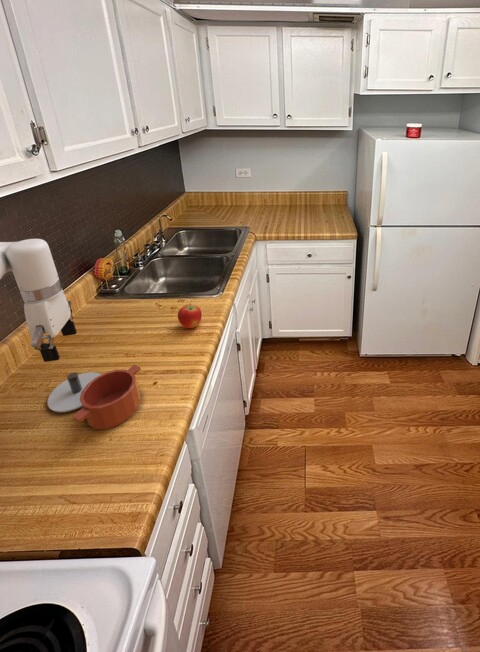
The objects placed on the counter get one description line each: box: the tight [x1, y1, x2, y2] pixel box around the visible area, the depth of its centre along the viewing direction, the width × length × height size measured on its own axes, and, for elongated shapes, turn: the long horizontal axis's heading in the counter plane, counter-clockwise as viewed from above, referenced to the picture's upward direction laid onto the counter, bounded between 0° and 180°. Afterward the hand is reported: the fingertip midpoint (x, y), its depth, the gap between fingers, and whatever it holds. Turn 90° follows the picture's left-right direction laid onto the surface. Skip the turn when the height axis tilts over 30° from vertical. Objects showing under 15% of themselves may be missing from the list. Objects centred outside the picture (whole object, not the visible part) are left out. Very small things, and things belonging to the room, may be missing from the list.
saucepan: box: [72, 364, 142, 430], centre depth 89 cm, size 13×18×7 cm
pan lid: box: [46, 371, 103, 413], centre depth 93 cm, size 14×14×7 cm
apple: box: [177, 302, 203, 329], centre depth 121 cm, size 8×8×10 cm
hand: (61, 346), depth 86 cm, fingers open, 9 cm apart
